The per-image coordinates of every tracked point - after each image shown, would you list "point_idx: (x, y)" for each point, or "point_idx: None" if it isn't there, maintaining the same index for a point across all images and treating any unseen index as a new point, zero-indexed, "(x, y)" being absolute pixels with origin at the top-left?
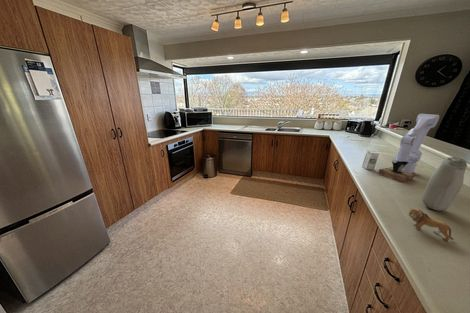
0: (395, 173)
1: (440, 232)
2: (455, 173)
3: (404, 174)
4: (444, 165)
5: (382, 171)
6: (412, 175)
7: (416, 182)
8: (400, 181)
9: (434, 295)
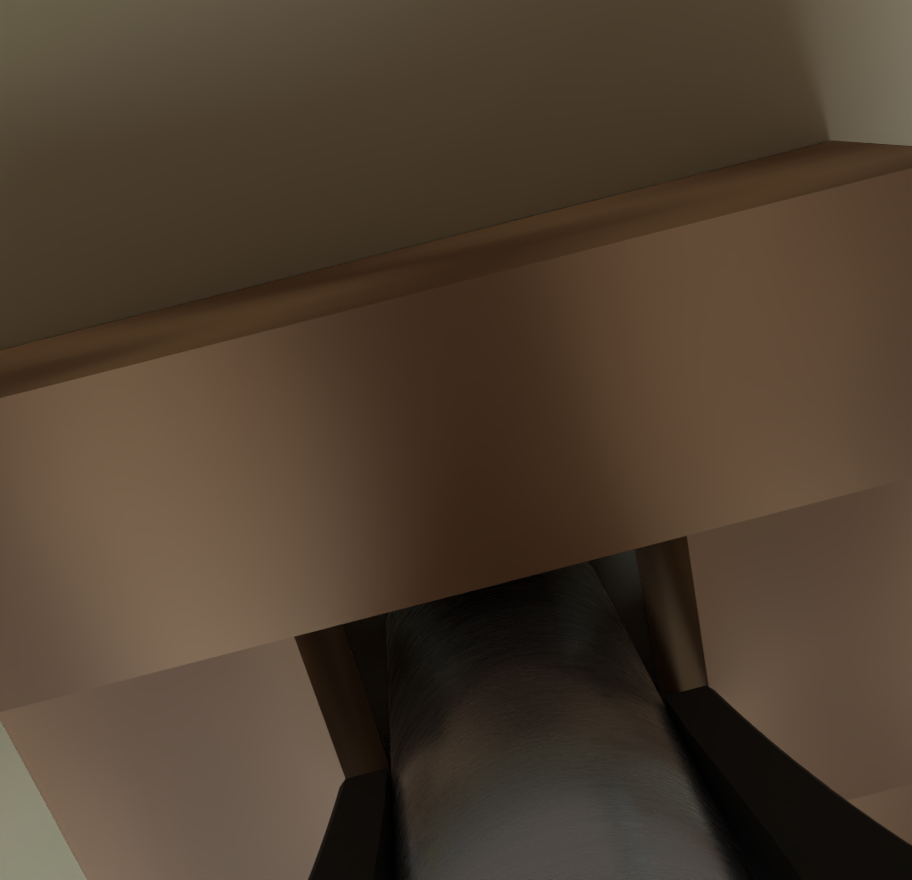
0: (774, 584)
1: None
2: None
3: (430, 475)
4: None
5: None
6: (27, 385)
7: (97, 35)
8: (817, 146)
9: None
